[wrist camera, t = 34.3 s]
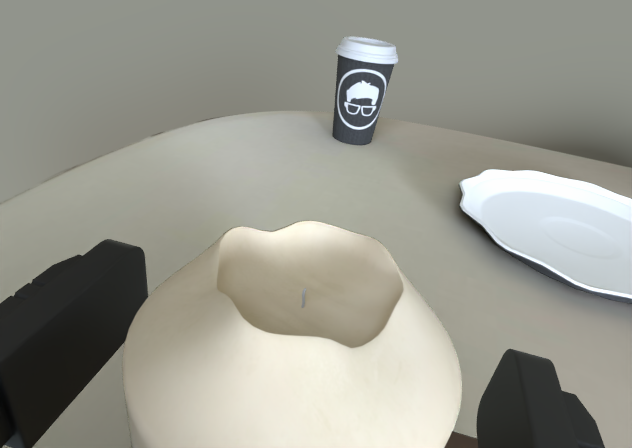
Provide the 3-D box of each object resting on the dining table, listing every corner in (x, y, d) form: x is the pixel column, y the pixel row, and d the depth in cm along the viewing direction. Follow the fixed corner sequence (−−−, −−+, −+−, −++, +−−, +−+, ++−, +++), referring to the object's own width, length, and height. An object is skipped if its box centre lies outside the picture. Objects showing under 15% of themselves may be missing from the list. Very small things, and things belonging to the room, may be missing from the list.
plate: (569, 343, 35) (582, 321, 34) (414, 183, 59) (418, 167, 58) (801, 316, 44) (818, 298, 42) (582, 185, 68) (589, 171, 66)
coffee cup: (391, 142, 73) (413, 47, 65) (356, 152, 66) (376, 49, 59) (347, 124, 78) (363, 35, 70) (311, 132, 71) (324, 35, 64)
